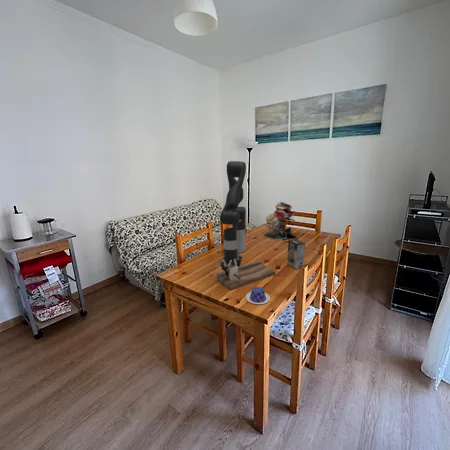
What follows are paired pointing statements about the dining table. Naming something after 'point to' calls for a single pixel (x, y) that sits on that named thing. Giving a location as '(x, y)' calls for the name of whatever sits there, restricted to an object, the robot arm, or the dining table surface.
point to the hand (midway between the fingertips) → (231, 275)
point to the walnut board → (247, 275)
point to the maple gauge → (233, 272)
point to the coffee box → (296, 253)
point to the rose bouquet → (280, 222)
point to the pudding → (257, 296)
